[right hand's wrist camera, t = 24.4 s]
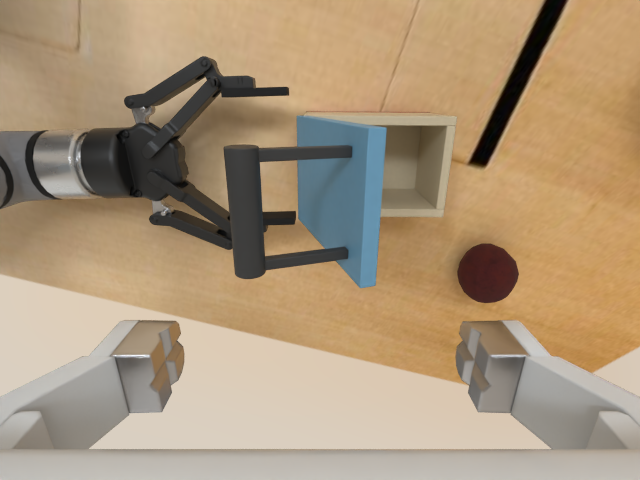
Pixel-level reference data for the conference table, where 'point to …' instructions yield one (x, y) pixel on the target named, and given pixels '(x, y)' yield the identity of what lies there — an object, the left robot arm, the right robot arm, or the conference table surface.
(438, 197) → the chest
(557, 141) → the conference table surface
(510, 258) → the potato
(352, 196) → the lid
